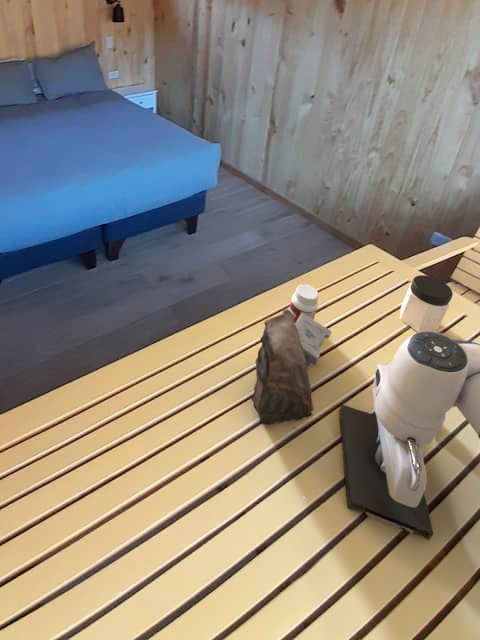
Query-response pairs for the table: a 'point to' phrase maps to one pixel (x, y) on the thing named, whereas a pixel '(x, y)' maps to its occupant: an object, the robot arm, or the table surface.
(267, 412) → the brown rock
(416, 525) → the lid
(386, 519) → the phone
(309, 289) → the pill bottle
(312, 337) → the incense holder
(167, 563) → the table surface
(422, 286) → the jar
